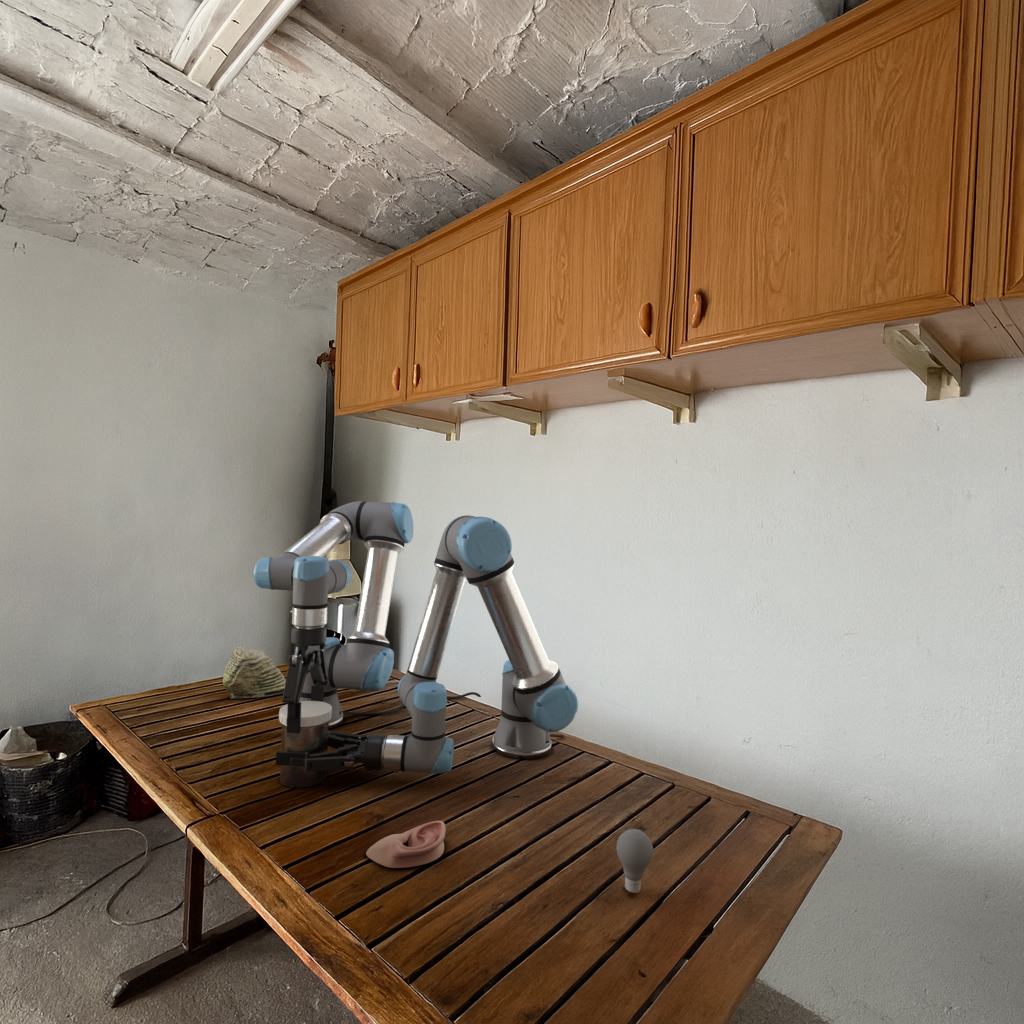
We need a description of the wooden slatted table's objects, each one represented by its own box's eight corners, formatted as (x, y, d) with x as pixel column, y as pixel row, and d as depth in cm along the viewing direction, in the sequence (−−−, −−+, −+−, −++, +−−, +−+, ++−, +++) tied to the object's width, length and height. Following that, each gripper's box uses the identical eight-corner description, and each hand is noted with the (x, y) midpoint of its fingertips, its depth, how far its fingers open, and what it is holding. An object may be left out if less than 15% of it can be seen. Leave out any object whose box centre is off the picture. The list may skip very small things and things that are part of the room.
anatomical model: (359, 840, 110) (385, 809, 121) (358, 862, 110) (384, 829, 121) (431, 852, 107) (451, 819, 119) (431, 875, 107) (451, 840, 119)
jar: (314, 764, 149) (316, 701, 149) (334, 779, 142) (337, 713, 142) (272, 776, 142) (274, 709, 142) (291, 792, 135) (294, 722, 135)
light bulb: (610, 879, 108) (613, 822, 108) (644, 879, 109) (647, 822, 109) (619, 902, 102) (622, 840, 102) (655, 901, 103) (658, 840, 103)
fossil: (218, 695, 195) (220, 647, 195) (278, 685, 208) (279, 640, 207) (228, 703, 189) (230, 653, 188) (289, 692, 201) (290, 645, 201)
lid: (271, 715, 143) (271, 706, 143) (319, 706, 150) (319, 697, 150) (290, 730, 134) (290, 721, 134) (340, 720, 141) (340, 711, 141)
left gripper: (315, 615, 154) (311, 704, 154) (267, 635, 130) (263, 740, 131) (345, 617, 153) (341, 707, 153) (301, 638, 129) (297, 744, 130)
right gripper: (372, 792, 131) (265, 787, 131) (393, 749, 153) (302, 745, 154) (373, 756, 131) (266, 751, 131) (394, 718, 153) (303, 714, 153)
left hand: (305, 722), depth 142 cm, fingers closed on lid, 11 cm apart
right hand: (285, 748), depth 142 cm, fingers closed on jar, 10 cm apart
